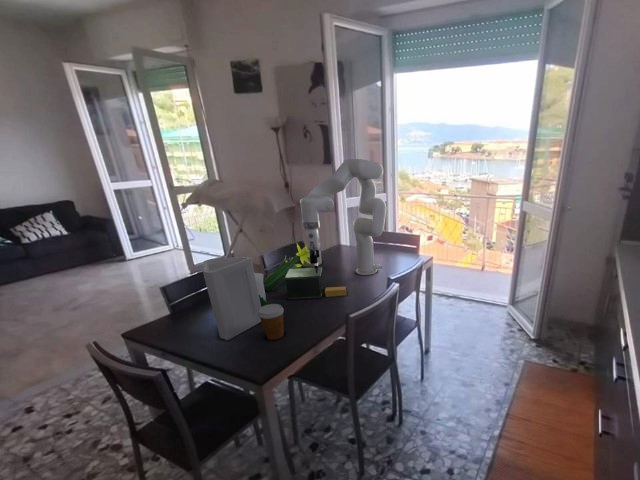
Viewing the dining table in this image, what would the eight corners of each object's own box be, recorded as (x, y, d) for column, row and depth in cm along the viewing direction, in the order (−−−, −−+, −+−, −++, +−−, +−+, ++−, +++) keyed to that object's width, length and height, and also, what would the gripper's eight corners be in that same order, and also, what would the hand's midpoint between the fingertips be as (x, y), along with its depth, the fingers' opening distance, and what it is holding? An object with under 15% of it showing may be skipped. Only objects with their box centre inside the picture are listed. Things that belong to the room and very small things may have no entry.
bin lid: (322, 268, 181) (321, 259, 179) (320, 277, 170) (319, 267, 168) (289, 270, 180) (288, 261, 177) (285, 279, 168) (283, 269, 166)
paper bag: (240, 313, 160) (226, 253, 149) (264, 319, 154) (252, 257, 143) (202, 332, 145) (184, 267, 133) (227, 340, 139) (210, 272, 127)
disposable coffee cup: (266, 330, 145) (261, 304, 140) (289, 329, 146) (285, 302, 141) (260, 342, 137) (254, 314, 132) (285, 341, 137) (280, 313, 132)
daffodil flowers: (252, 288, 189) (294, 254, 212) (274, 304, 188) (314, 268, 211) (253, 269, 176) (298, 235, 199) (277, 285, 175) (319, 249, 198)
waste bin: (323, 288, 185) (320, 268, 181) (320, 298, 174) (318, 277, 170) (292, 290, 184) (289, 270, 180) (288, 300, 173) (285, 279, 168)
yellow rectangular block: (346, 292, 180) (345, 286, 179) (346, 295, 176) (345, 289, 175) (326, 293, 179) (325, 287, 178) (325, 296, 175) (325, 290, 174)
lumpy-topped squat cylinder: (300, 265, 219) (298, 252, 215) (311, 259, 230) (309, 246, 227) (315, 267, 216) (313, 253, 212) (325, 260, 227) (324, 247, 224)
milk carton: (243, 316, 158) (233, 274, 149) (257, 307, 165) (248, 267, 157) (259, 318, 155) (250, 276, 147) (272, 310, 163) (265, 268, 154)
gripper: (317, 228, 158) (321, 265, 165) (321, 221, 173) (324, 254, 180) (300, 229, 157) (305, 266, 164) (305, 221, 173) (309, 255, 180)
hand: (315, 260), depth 172 cm, fingers open, 9 cm apart
